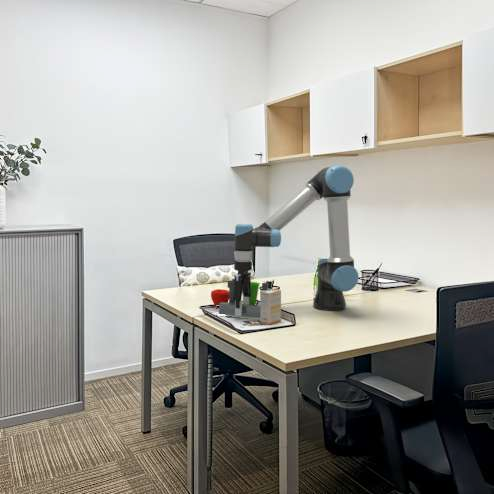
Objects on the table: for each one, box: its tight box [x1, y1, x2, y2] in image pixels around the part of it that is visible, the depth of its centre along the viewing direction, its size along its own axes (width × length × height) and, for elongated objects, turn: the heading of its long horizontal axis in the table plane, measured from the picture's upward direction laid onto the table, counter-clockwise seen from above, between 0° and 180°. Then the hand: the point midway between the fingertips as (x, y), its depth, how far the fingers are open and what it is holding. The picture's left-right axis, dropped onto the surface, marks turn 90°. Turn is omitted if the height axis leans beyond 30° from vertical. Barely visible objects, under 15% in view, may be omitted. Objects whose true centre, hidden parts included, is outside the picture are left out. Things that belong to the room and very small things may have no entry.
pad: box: [227, 315, 261, 321], centre depth 215 cm, size 22×7×1 cm, turn 70°
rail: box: [218, 302, 261, 318], centre depth 214 cm, size 20×4×4 cm, turn 70°
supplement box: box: [259, 288, 282, 326], centre depth 204 cm, size 8×5×13 cm, turn 141°
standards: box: [227, 278, 273, 303], centre depth 222 cm, size 21×6×14 cm, turn 70°
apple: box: [210, 288, 229, 306], centre depth 235 cm, size 9×9×8 cm
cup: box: [242, 281, 261, 305], centre depth 235 cm, size 9×9×11 cm
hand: (242, 313), depth 214 cm, fingers open, 8 cm apart
